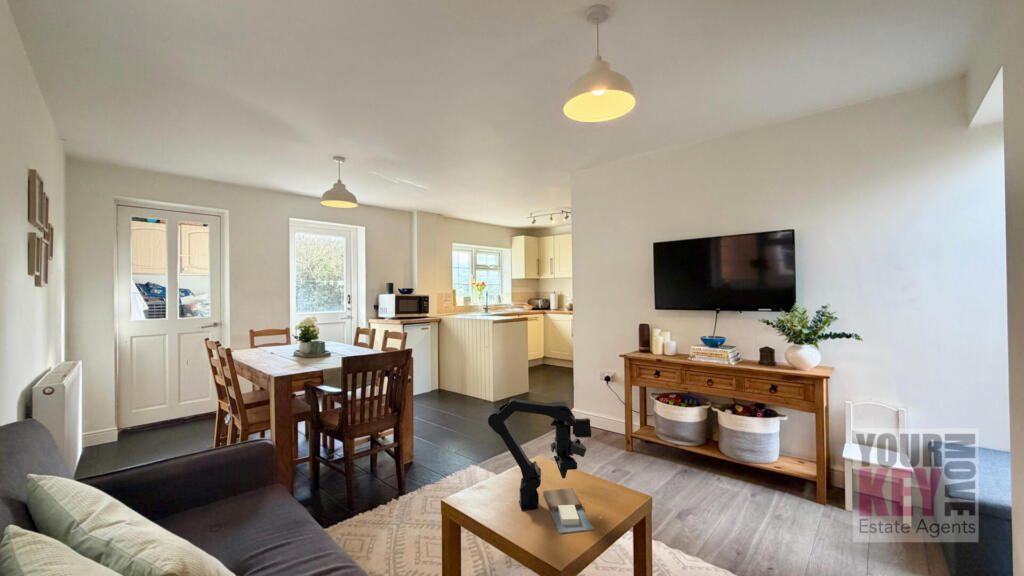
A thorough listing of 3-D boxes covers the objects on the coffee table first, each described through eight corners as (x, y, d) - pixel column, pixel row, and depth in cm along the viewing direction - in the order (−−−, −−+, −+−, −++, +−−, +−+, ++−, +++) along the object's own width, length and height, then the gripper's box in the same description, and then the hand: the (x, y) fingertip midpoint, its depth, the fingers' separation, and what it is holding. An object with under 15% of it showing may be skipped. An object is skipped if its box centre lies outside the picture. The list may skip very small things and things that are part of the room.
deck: (550, 512, 154) (550, 507, 154) (543, 495, 166) (543, 490, 166) (581, 509, 156) (581, 504, 156) (572, 493, 168) (572, 488, 168)
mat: (559, 533, 141) (559, 532, 141) (550, 512, 154) (550, 511, 154) (593, 530, 143) (593, 528, 143) (582, 509, 156) (582, 508, 156)
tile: (561, 525, 145) (561, 519, 145) (558, 510, 154) (558, 505, 154) (579, 524, 146) (579, 518, 146) (574, 510, 155) (574, 504, 155)
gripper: (591, 445, 149) (591, 489, 149) (577, 426, 167) (578, 465, 168) (560, 447, 148) (560, 491, 148) (550, 428, 166) (550, 467, 167)
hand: (563, 477), depth 158 cm, fingers closed
